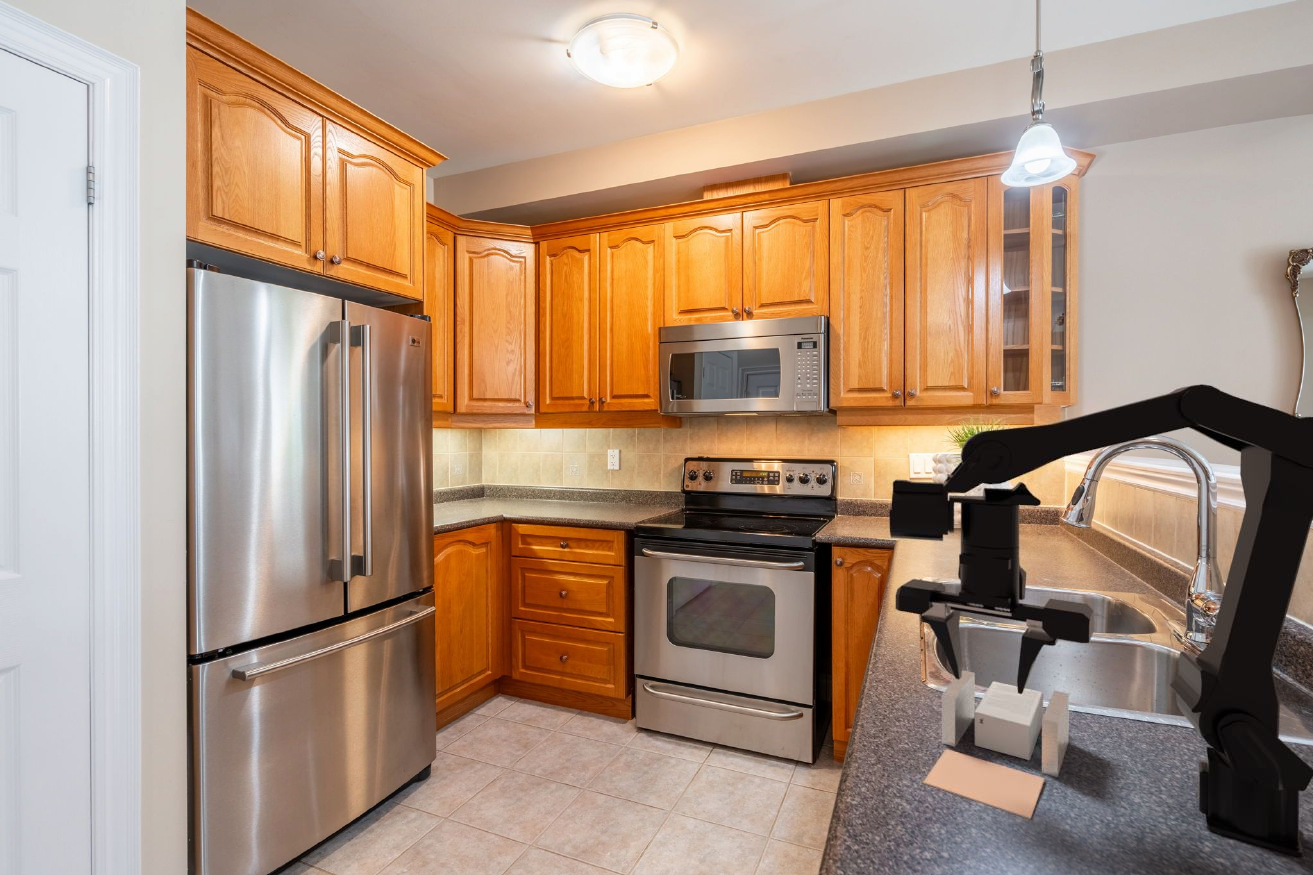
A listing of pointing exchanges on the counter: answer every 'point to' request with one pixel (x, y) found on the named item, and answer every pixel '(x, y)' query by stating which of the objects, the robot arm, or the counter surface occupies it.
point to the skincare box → (1009, 720)
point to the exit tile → (986, 783)
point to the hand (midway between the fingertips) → (988, 685)
